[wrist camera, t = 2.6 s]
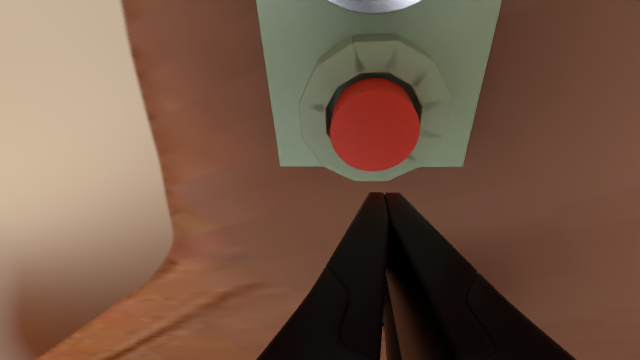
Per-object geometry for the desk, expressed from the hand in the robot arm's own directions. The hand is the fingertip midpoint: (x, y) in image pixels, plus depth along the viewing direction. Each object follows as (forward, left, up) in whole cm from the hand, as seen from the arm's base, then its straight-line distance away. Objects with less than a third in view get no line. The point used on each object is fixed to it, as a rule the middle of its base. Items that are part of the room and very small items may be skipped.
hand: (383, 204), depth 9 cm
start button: (0, 0, -6) cm, 6 cm away
